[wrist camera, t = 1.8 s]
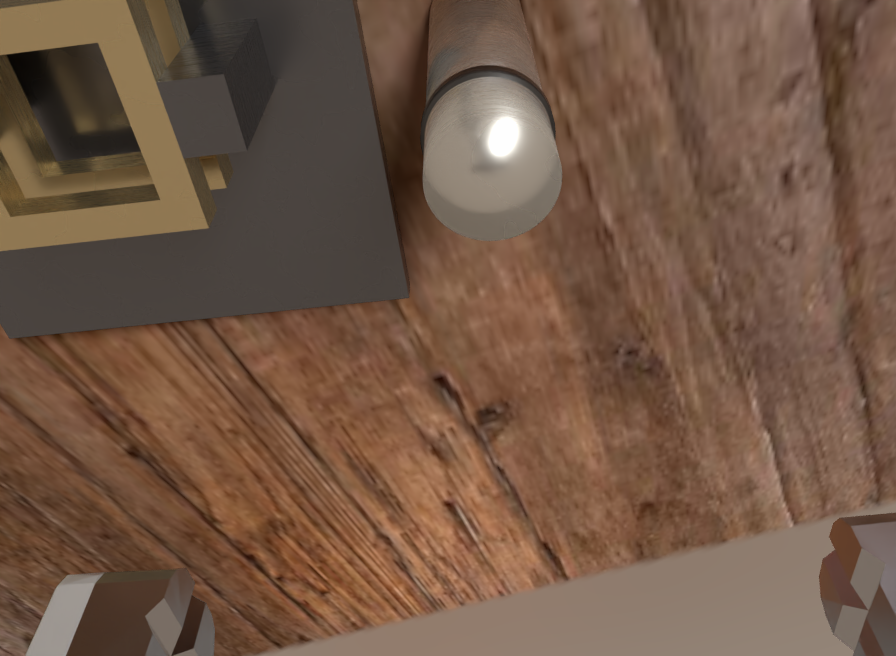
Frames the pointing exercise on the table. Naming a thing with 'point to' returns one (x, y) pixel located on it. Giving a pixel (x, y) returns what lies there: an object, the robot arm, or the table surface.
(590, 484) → the table surface
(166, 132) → the collar stand
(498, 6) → the metal tube
